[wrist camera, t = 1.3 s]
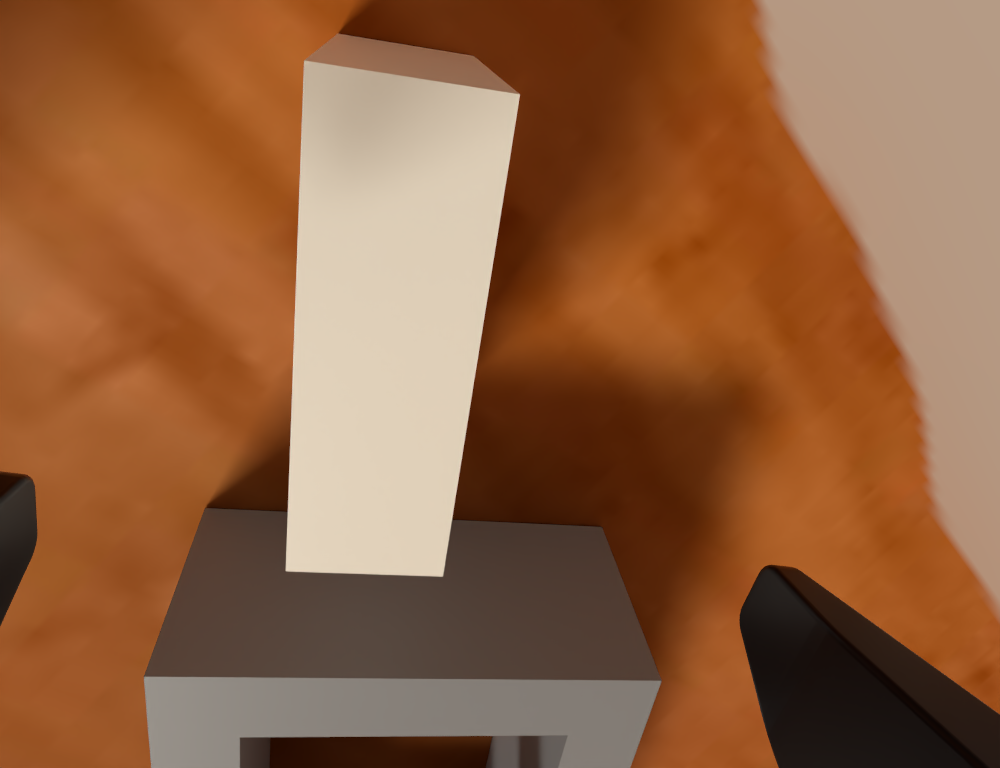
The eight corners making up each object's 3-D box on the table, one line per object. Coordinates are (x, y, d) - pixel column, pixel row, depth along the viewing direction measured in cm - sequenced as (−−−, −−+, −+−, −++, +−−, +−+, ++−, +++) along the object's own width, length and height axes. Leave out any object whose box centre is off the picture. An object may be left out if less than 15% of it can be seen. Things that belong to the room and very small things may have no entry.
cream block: (318, 394, 20) (285, 571, 14) (338, 33, 16) (304, 60, 10) (428, 403, 21) (442, 576, 15) (473, 56, 17) (520, 94, 11)
